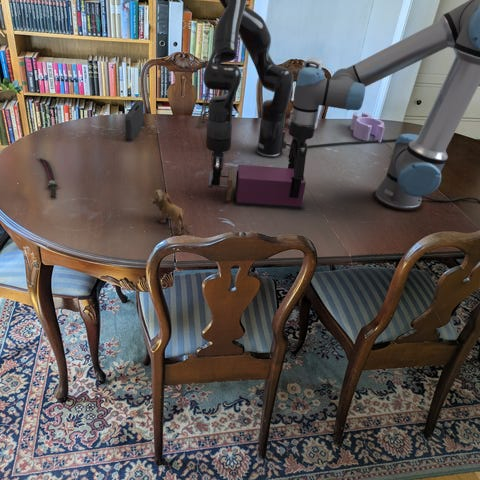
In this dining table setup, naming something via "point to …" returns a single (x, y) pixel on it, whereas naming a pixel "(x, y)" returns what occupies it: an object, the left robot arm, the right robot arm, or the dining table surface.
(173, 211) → the lion figurine
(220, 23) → the left robot arm
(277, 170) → the purple rectangular box
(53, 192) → the sword
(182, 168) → the dining table surface
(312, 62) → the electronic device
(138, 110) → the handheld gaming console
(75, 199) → the dining table surface
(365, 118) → the clip
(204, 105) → the miniature windmill
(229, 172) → the drawer
